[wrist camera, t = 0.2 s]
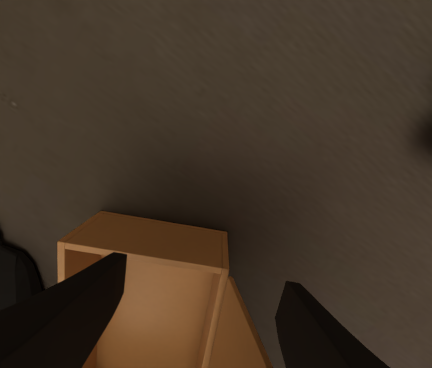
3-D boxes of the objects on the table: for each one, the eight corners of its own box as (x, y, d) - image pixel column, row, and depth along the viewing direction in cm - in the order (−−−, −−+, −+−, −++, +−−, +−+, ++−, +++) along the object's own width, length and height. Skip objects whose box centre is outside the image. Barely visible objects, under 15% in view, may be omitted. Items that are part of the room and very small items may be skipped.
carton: (100, 210, 20) (56, 241, 15) (227, 231, 20) (229, 269, 15) (94, 364, 25) (59, 431, 19) (196, 380, 25) (190, 449, 20)
